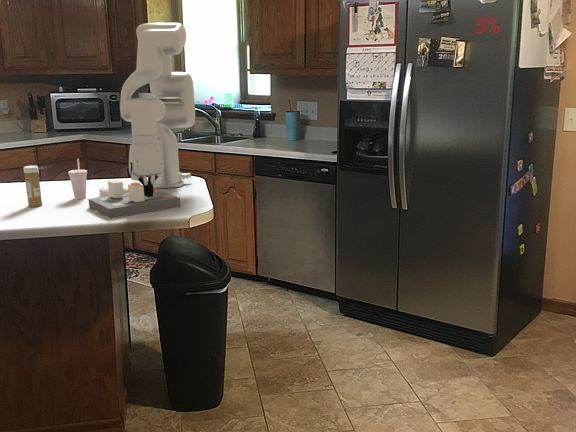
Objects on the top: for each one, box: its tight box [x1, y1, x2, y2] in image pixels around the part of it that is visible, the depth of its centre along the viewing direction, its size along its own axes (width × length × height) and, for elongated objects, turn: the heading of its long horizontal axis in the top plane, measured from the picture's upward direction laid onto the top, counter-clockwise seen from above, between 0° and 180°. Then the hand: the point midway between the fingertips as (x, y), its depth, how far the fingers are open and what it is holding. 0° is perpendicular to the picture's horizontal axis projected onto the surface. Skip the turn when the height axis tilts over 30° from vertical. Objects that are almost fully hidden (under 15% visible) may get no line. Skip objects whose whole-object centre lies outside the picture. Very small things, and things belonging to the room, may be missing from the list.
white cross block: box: [98, 183, 129, 197], centre depth 223 cm, size 12×12×4 cm
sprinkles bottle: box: [22, 165, 43, 208], centre depth 207 cm, size 5×5×13 cm
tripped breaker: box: [127, 181, 144, 202], centre depth 199 cm, size 3×5×6 cm, turn 37°
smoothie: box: [67, 158, 88, 200], centre depth 218 cm, size 6×6×14 cm
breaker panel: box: [88, 188, 181, 219], centre depth 204 cm, size 24×18×3 cm
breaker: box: [107, 179, 124, 198], centre depth 205 cm, size 3×5×5 cm, turn 37°
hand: (148, 196), depth 201 cm, fingers closed
